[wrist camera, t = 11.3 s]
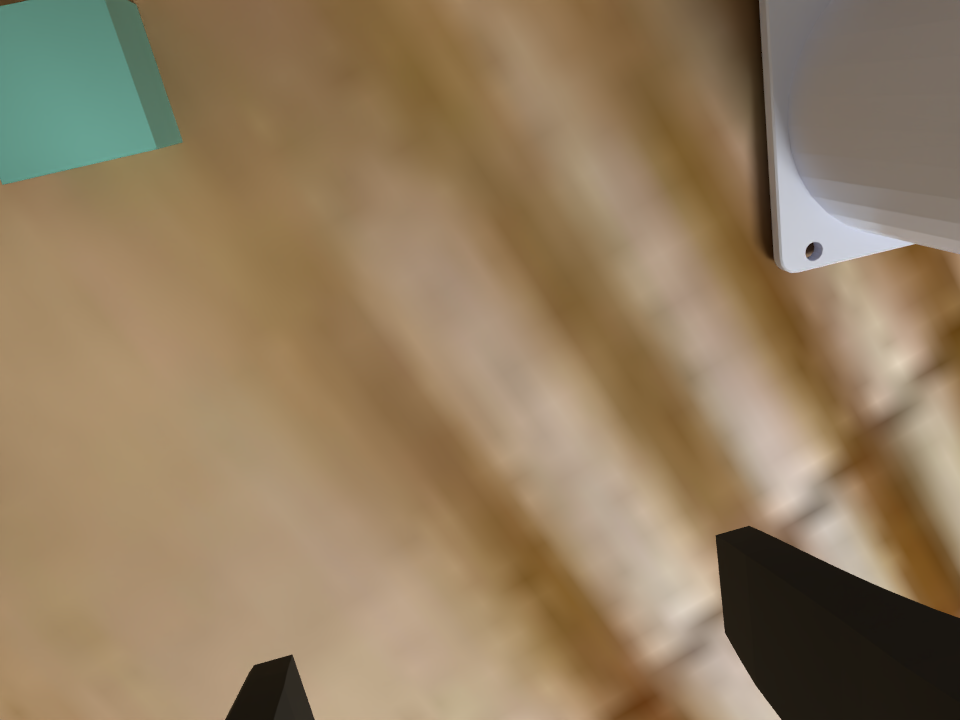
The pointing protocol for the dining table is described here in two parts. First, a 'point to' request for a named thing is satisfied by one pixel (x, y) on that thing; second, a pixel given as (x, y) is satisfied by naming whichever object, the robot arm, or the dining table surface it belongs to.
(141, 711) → the dining table surface
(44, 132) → the teal cube
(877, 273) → the dining table surface
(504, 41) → the dining table surface
